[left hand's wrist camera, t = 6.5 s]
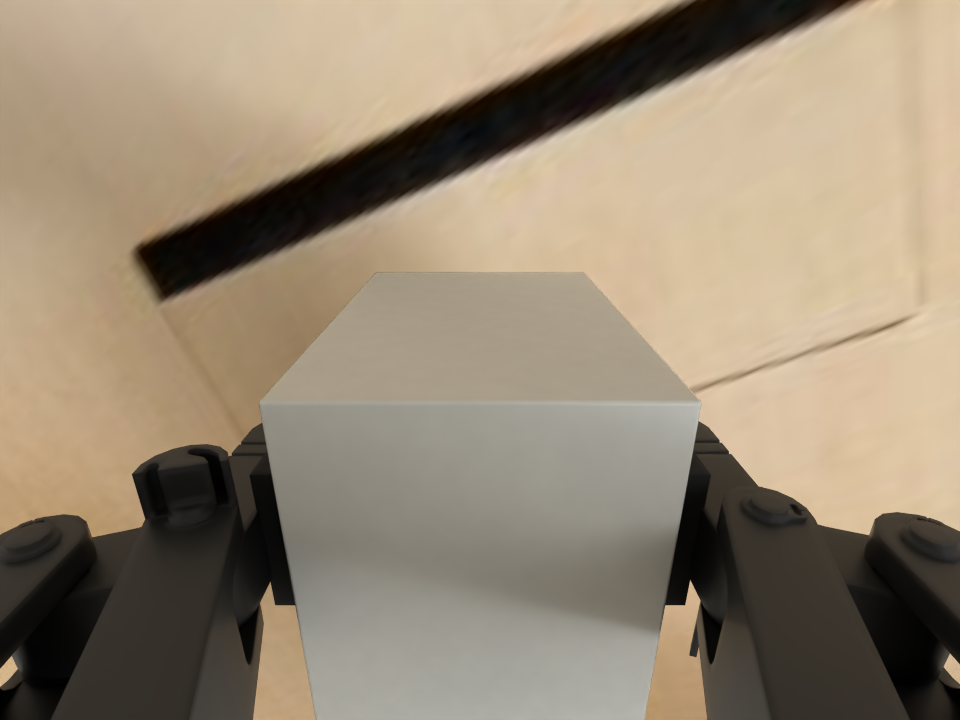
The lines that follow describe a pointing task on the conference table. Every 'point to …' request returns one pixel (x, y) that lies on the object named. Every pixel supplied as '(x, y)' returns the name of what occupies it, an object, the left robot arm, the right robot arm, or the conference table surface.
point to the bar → (480, 499)
